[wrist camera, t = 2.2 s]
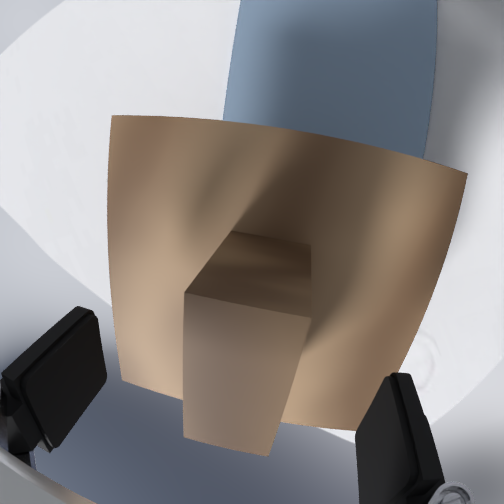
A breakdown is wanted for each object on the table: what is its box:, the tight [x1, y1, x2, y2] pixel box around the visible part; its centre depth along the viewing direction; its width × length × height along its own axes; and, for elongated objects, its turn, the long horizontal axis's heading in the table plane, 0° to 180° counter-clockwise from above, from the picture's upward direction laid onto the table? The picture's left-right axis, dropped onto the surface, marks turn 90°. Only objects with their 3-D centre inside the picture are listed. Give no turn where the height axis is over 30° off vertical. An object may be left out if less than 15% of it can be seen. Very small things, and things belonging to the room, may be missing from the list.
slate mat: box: [223, 0, 437, 159], centre depth 17 cm, size 14×16×1 cm
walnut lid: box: [107, 115, 468, 456], centre depth 11 cm, size 14×14×6 cm
